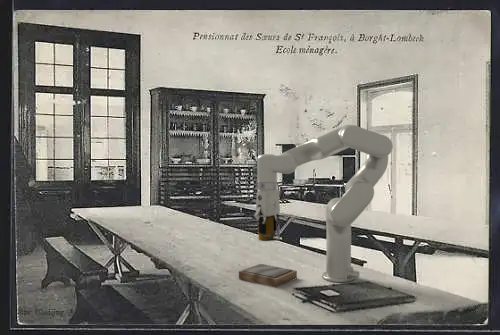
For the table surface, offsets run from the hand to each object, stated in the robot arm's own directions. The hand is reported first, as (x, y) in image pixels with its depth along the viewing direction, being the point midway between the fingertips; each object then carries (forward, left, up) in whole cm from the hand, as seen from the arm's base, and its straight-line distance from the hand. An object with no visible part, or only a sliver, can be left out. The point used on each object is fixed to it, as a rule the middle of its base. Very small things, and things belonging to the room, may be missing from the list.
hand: (267, 231), depth 218 cm
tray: (0, 0, -19) cm, 19 cm away
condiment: (0, 0, -3) cm, 3 cm away
